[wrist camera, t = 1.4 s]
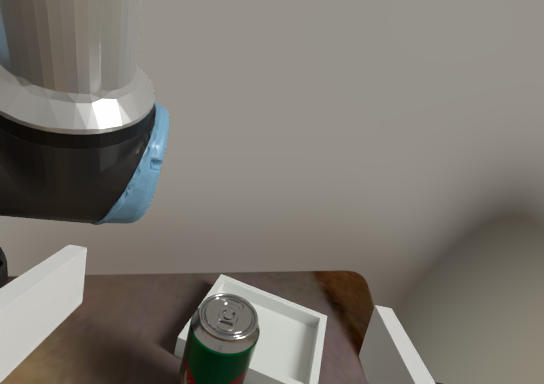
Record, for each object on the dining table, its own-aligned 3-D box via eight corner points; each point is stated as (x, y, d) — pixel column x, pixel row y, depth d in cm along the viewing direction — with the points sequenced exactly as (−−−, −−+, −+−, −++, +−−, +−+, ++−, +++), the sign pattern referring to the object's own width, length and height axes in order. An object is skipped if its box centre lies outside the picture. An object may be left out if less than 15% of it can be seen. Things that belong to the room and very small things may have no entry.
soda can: (234, 399, 31) (267, 299, 26) (221, 460, 26) (258, 352, 21) (181, 384, 31) (204, 282, 26) (158, 443, 26) (182, 331, 21)
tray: (173, 355, 33) (177, 337, 32) (217, 289, 43) (221, 274, 42) (307, 414, 31) (316, 396, 30) (320, 331, 41) (327, 316, 40)
